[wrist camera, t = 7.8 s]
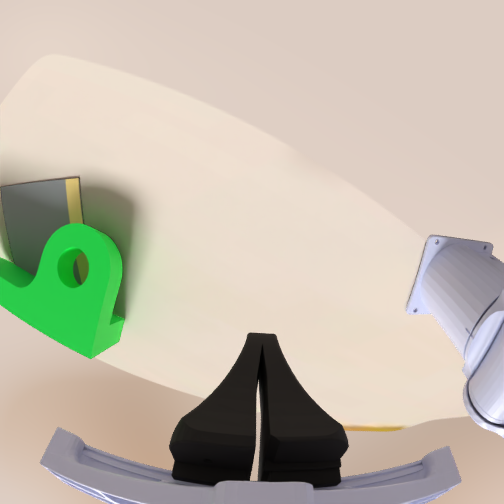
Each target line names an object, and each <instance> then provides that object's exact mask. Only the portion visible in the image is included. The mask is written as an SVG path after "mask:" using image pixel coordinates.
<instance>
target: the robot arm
mask: <svg viewBox="0 0 504 504" xmlns="http://www.w3.org/2000/svg"><path fill="white" fill-rule="evenodd" d="M437 239H438V240H437ZM436 240H437V242H436V243H435V241H436ZM492 250H493V245H492V244H491V243H488V242H482V241H475V240H467V239H461V238H454V237H447V236H439V235H430V236H429V237H428V239H427V243H426V246H425V250H424V254H423V258H422V261H421V265H420V268H419V271H418V275H417V278H416V281H415V284H414V287H413V290H412V293H411V296H410V299H409V302H408V305H407V307H406V312H407V314H410V315H411V314H432V315H433V317H434V318H435V319H436V321H437V322H438V323H439V325H440V326H441V327H442V329H443V330H444V332H445V333H446V334H447V336H448V337H449V339H450V340H451V341H452V343H453V344H454V346H455V347H456V348H457V350H458V351H459V353H460V354H461V356H462V357H463V359H464V360H465V364H464V367H463V369H462V371H463V373H464V375H465V376H466V378H467V381H466V383H465V385H464V388H463V401H464V405H465V407H466V410H467V412H468V413H469V415H470V417H471V418H472V419H473V420H474V421H475V422H476V423H477V424H478V425H480V426H481V427H483V428H484V429H487V430H490V431H493V432H495V433H497V434H499V435H500V436H502V437H503V438H504V263H502V262H501V261H500V260H498V259H497V258H496V257H494V256H493V255H492ZM415 308H416V309H415ZM414 309H415V310H414ZM258 379H259V393H260V409H261V432H260V452H259V468H258V481H250V476H251V471H252V465H253V459H254V454H255V447H256V392H257V386H258ZM348 447H349V445H348V439H347V436H346V434H345V431H344V428H343V426H342V425H341V424H340V423H338V422H337V421H336V420H334V419H333V418H332V417H331V416H329V415H328V414H327V413H326V412H325V411H324V410H323V409H322V408H321V407H320V406H319V405H318V404H317V403H316V402H315V401H314V400H313V399H312V398H311V397H310V396H309V395H308V393H307V392H306V391H305V390H304V388H303V387H302V386H301V384H300V383H299V382H298V380H297V379H296V377H295V375H294V374H293V372H292V371H291V369H290V367H289V365H288V363H287V361H286V359H285V357H284V355H283V353H282V351H281V348H280V346H279V343H278V340H277V336H276V335H275V334H265V333H249V334H248V335H247V339H246V342H245V345H244V347H243V349H242V351H241V353H240V355H239V357H238V359H237V361H236V362H235V364H234V366H233V367H232V369H231V370H230V372H229V373H228V375H227V376H226V377H225V379H224V380H223V381H222V382H221V384H220V385H219V386H218V387H217V388H216V389H215V390H214V391H213V393H212V394H211V395H210V396H209V397H207V398H206V399H205V400H204V401H203V402H202V403H201V404H200V405H199V406H197V407H196V408H195V409H194V410H192V411H191V412H189V413H188V414H186V415H185V416H184V417H182V418H181V420H180V421H179V423H178V425H177V426H176V428H175V430H174V432H173V434H172V438H171V441H170V445H169V449H170V451H171V453H172V455H173V458H174V460H175V462H174V466H173V470H172V471H171V470H166V469H162V468H157V467H153V466H149V465H145V464H141V463H138V462H134V461H131V460H128V459H124V458H121V457H118V456H115V455H112V454H109V453H107V452H104V451H101V450H98V449H96V448H93V447H91V446H88V445H86V444H85V443H84V442H83V440H82V439H81V438H80V437H78V436H77V435H75V434H73V433H71V432H68V431H66V430H64V429H62V428H60V427H58V428H57V429H56V431H55V433H54V435H53V437H52V439H51V441H50V443H49V445H48V447H47V449H46V451H45V453H44V455H43V457H42V459H41V461H40V464H41V465H42V466H44V467H45V468H46V469H47V470H49V471H50V472H51V473H52V474H53V475H55V476H56V477H57V478H59V479H60V480H61V481H62V482H64V483H65V484H67V485H70V486H71V487H73V488H75V489H77V490H79V491H81V492H84V493H86V494H88V495H90V496H93V497H94V498H97V499H99V500H101V501H103V502H106V503H108V504H425V503H428V502H430V501H432V500H435V499H436V498H438V497H440V496H441V495H443V494H444V493H446V492H448V491H449V490H451V489H452V488H454V487H455V486H457V485H458V484H460V483H461V478H460V475H459V472H458V469H457V466H456V463H455V461H454V458H453V455H452V453H451V450H450V447H449V446H446V447H443V448H440V449H437V450H434V451H432V452H430V453H428V454H427V455H426V456H424V458H422V460H419V461H416V462H413V463H409V464H405V465H402V466H398V467H394V468H390V469H385V470H381V471H376V472H372V473H366V474H360V475H355V476H348V477H341V476H340V469H339V468H340V467H341V460H340V458H341V457H342V456H343V454H344V453H345V452H346V451H347V449H348Z"/></svg>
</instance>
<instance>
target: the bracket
mask: <svg viewBox="0 0 504 504" xmlns="http://www.w3.org/2000/svg"><path fill="white" fill-rule="evenodd" d="M82 252H84V253H85V255H86V257H87V259H88V263H89V272H88V276H87V278H86V280H85V282H84V283H83V284H82V285H79V284H78V283H77V281H76V280H75V278H74V274H73V264H74V261H75V259H76V258H77V256H78V255H79V254H81V253H82ZM122 271H123V268H122V260H121V256H120V252H119V250H118V248H117V246H116V245H115V243H114V242H113V241H112V239H111V238H110V237H108V236H107V235H106V234H104V233H102V232H100V231H98V230H96V229H94V228H92V227H90V226H87V225H85V224H81V223H72V224H68V225H65V226H63V227H61V228H59V229H58V230H57V231H55V232H54V233H53V234H52V236H51V237H50V238H49V240H48V241H47V243H46V245H45V247H44V250H43V253H42V256H41V260H40V264H39V268H38V271H37V274H36V276H34V275H32V274H30V273H28V272H27V271H25V270H23V269H22V268H20V267H18V266H16V265H15V264H13V263H11V262H9V261H7V260H5V259H3V258H0V305H1V306H3V307H4V308H5V309H7V310H8V311H10V312H11V313H12V314H14V315H15V316H17V317H18V318H20V319H21V320H23V321H25V322H26V323H27V324H29V325H31V326H32V327H34V328H36V329H37V330H39V331H40V332H42V333H44V334H45V335H47V336H49V337H50V338H52V339H54V340H56V341H57V342H59V343H61V344H63V345H64V346H66V347H69V348H70V349H72V350H74V351H76V352H78V353H80V354H82V355H84V356H86V357H88V358H90V359H92V358H93V357H95V356H96V355H98V354H100V353H101V352H103V351H105V350H106V349H108V348H109V347H111V346H113V345H114V344H116V343H117V342H119V340H120V336H121V332H122V328H123V324H124V320H125V319H123V318H121V317H119V316H116V315H114V314H112V313H113V309H114V305H115V301H116V298H117V294H118V291H119V287H120V284H121V280H122Z"/></svg>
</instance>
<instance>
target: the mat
mask: <svg viewBox="0 0 504 504" xmlns="http://www.w3.org/2000/svg"><path fill="white" fill-rule="evenodd" d="M0 189H1V198H2V205H3V212H4V218H5V224H6V229H7V234H8V239H9V244H10V248H11V252H12V256H13V260H14V264H15V265H16V266H18V267H20V268H22V269H23V270H25V271H27V272H28V273H30V274H32V275H34V276H36V274H37V271H38V268H39V264H40V260H41V256H42V253H43V250H44V247H45V245H46V243H47V241H48V240H49V238H50V237H51V236H52V234H53V233H54V232H55V231H57V230H58V229H59V228H61V227H63V226H65V225H68V224H72V223H81V224H84V222H83V214H82V205H81V195H80V182H79V178H72V179H61V180H51V181H42V182H33V183H26V184H18V185H11V186H5V187H0ZM88 272H89V263H88V259H87V257H86V255H85V253H84V252H82V253H81V254H79V255H78V256H77V258H76V259H75V261H74V264H73V274H74V278H75V280H76V281H77V283H78V284H79V285H82V284H83V283H84V282H85V280H86V278H87V276H88Z"/></svg>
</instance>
